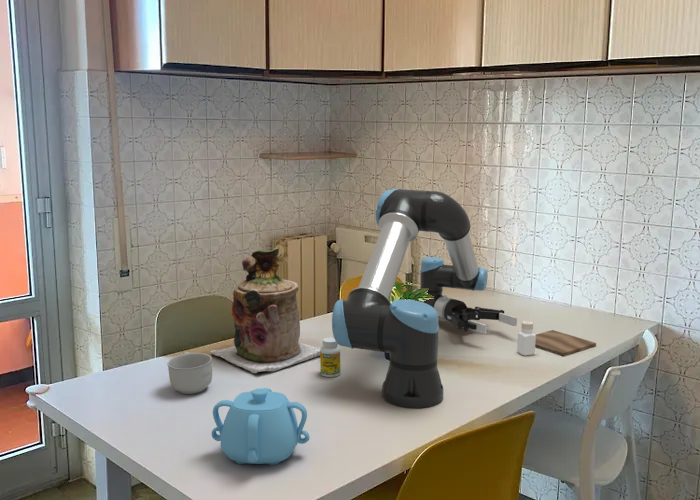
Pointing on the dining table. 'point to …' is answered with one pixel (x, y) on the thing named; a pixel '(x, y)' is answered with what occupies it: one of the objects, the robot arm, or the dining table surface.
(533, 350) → the pepper shaker
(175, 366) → the teacup
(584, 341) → the board
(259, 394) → the decorative pot
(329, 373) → the supplement bottle
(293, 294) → the cookie jar
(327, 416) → the dining table surface
